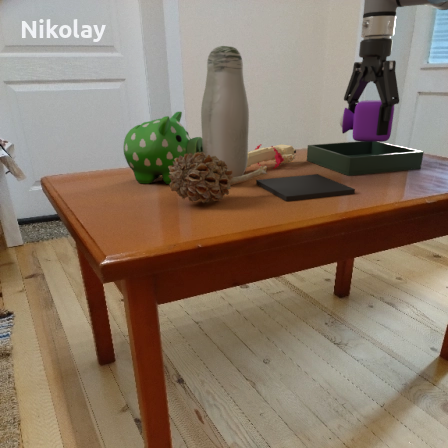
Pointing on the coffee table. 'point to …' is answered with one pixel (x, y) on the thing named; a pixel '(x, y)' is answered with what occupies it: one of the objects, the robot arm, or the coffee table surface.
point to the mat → (304, 187)
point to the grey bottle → (225, 110)
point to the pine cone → (204, 177)
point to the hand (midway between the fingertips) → (365, 132)
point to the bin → (364, 157)
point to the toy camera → (365, 121)
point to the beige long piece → (271, 154)
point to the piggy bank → (158, 147)
